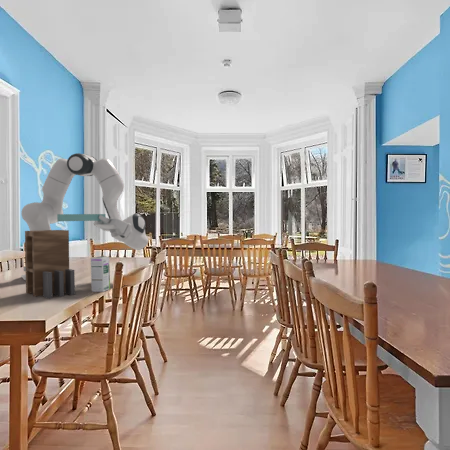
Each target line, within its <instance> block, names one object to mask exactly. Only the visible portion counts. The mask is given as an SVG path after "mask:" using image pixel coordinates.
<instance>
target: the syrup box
mask: <svg viewBox="0 0 450 450" xmlns="http://www.w3.org/2000/svg"><path fill="white" fill-rule="evenodd" d="M110 273H111V271H110V256H105V255H103V256H102V255H101V256H95V257H91V258H90V279H91V280H90V281H91V282H90V283H91V286H90V287H91V292H94V293H105V292H106V291H109V290H111V278H110V276H111V275H110Z"/></svg>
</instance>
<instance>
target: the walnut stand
mask: <svg viewBox="0 0 450 450" xmlns="http://www.w3.org/2000/svg"><path fill="white" fill-rule="evenodd" d="M69 232H70V230H68V229H65V230H64V229H51V230H38V231H30V230H25V231H24V253H25V259H24V260H25V267H26V271H25V274H26V280H25V294H27V295H28V294H32V296H33V297H41V296H42V297H43V272H44V271H48V272H52V295H55V286H54V270H60V271H63V276H64V293H66V285H65V269H70V237H69V236H70V233H69Z"/></svg>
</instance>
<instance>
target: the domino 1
mask: <svg viewBox="0 0 450 450" xmlns="http://www.w3.org/2000/svg"><path fill="white" fill-rule="evenodd" d="M42 297H44V298H45V299H52V298H53V294H52V272H48V271H44V272H43V295H42Z"/></svg>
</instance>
